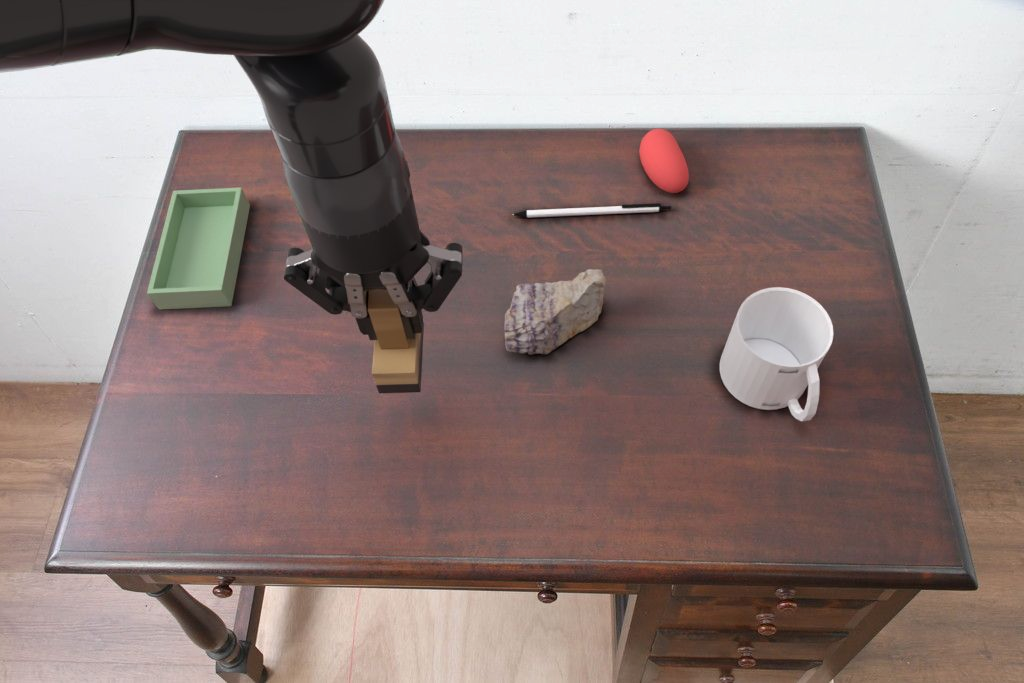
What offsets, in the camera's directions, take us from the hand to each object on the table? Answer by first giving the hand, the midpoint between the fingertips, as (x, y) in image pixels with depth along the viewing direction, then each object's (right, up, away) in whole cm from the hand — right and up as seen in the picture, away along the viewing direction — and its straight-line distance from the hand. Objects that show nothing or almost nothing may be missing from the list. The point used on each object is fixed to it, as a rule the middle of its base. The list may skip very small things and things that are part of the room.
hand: (393, 330), depth 66 cm
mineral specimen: (+14, +1, +22) cm, 26 cm away
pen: (+19, +14, +30) cm, 39 cm away
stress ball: (+29, +20, +33) cm, 48 cm away
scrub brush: (0, -2, +4) cm, 5 cm away
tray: (-27, +9, +29) cm, 40 cm away
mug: (+37, -6, +17) cm, 41 cm away
